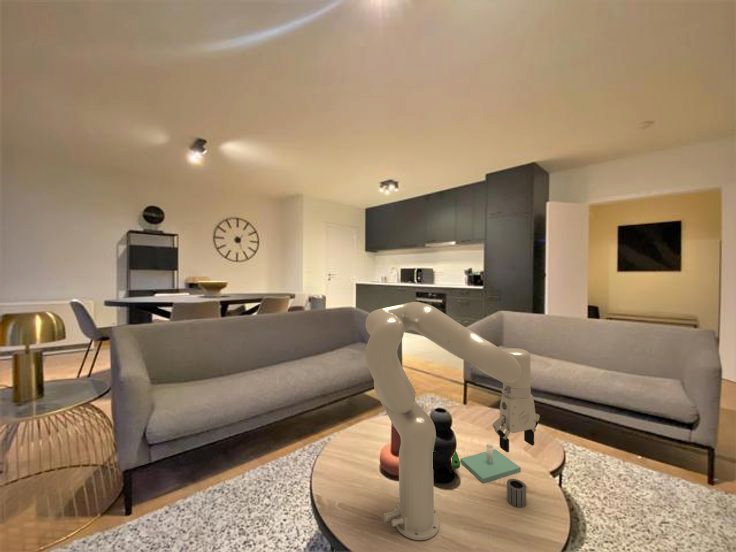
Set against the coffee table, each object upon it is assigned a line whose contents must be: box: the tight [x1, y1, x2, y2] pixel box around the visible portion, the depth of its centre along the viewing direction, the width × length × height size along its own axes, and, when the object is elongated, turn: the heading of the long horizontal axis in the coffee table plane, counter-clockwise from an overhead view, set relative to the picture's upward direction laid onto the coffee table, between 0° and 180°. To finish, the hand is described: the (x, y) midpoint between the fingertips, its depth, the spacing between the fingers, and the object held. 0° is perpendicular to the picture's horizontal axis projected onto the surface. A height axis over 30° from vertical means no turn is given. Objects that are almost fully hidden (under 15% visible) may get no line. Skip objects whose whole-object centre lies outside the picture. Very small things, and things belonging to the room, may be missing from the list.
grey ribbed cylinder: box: [506, 478, 528, 508], centre depth 96 cm, size 5×5×5 cm
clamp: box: [452, 450, 461, 471], centre depth 110 cm, size 12×6×9 cm, turn 85°
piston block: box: [459, 442, 522, 484], centre depth 112 cm, size 16×12×8 cm
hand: (516, 446), depth 96 cm, fingers open, 9 cm apart
